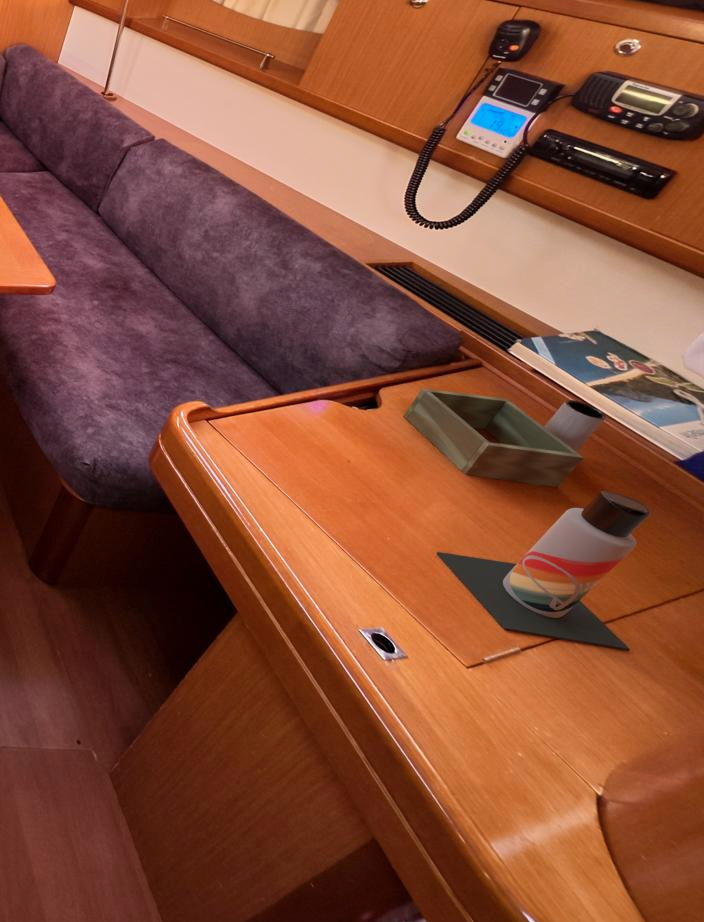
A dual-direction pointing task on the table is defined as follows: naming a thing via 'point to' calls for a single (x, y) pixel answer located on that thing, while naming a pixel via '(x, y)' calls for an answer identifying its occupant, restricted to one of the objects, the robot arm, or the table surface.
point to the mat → (513, 616)
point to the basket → (522, 438)
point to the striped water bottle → (576, 554)
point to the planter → (575, 423)
